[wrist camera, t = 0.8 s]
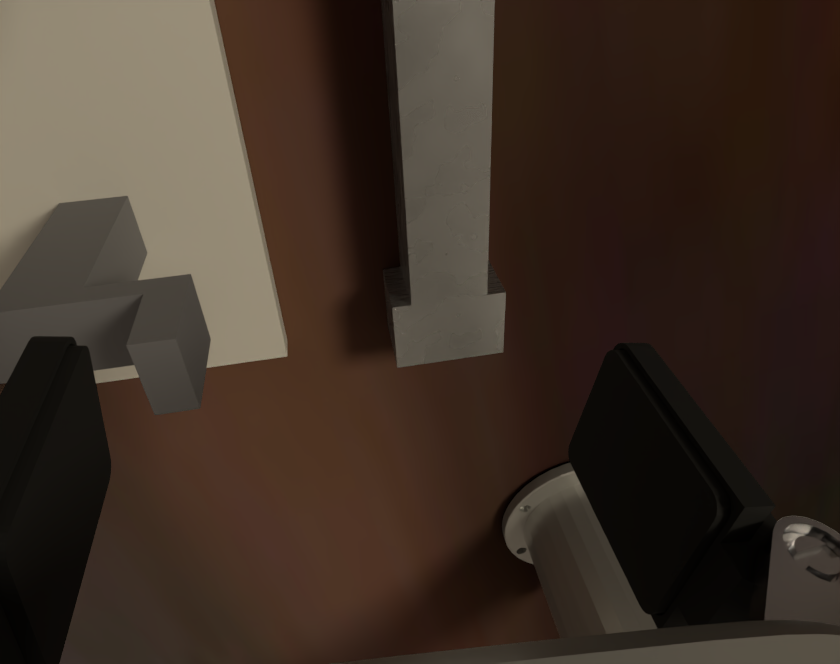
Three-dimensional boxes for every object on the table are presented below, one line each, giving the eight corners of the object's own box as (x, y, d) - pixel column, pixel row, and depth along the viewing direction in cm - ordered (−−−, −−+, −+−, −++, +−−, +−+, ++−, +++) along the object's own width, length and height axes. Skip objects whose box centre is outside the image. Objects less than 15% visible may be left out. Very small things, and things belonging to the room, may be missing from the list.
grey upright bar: (484, 312, 38) (503, 352, 35) (387, 325, 38) (397, 367, 34) (499, -355, 21) (537, -395, 18) (325, -352, 21) (332, -393, 18)
